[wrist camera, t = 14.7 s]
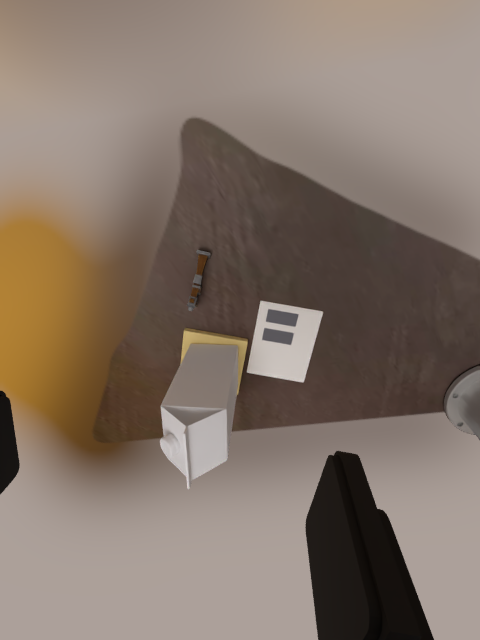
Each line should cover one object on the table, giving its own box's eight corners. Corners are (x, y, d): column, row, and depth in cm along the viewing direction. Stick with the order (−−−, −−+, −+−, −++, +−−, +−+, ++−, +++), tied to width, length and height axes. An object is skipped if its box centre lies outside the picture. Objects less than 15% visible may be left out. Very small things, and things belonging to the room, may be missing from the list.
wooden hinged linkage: (187, 310, 46) (182, 309, 42) (200, 256, 46) (196, 249, 42) (199, 313, 46) (196, 312, 42) (212, 259, 46) (210, 252, 42)
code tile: (322, 311, 46) (323, 311, 45) (303, 381, 50) (303, 382, 50) (260, 300, 46) (260, 300, 45) (246, 371, 50) (246, 372, 50)
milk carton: (238, 344, 47) (221, 436, 30) (238, 385, 50) (223, 491, 33) (190, 342, 48) (147, 432, 30) (193, 383, 51) (154, 486, 33)
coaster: (248, 338, 48) (247, 341, 47) (238, 391, 52) (237, 394, 51) (185, 327, 48) (184, 330, 47) (180, 380, 52) (178, 384, 51)
